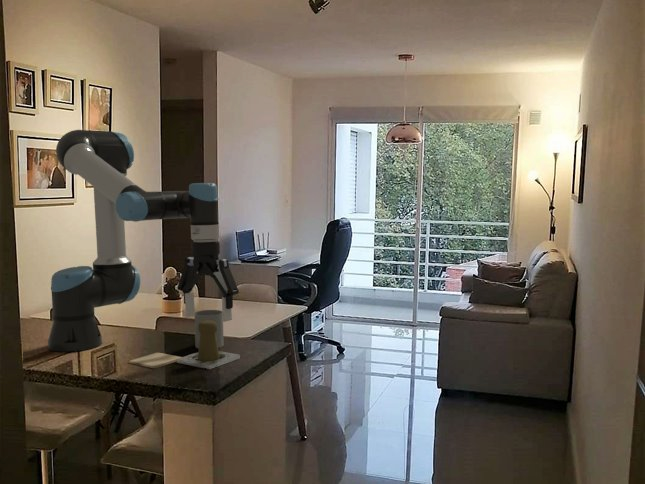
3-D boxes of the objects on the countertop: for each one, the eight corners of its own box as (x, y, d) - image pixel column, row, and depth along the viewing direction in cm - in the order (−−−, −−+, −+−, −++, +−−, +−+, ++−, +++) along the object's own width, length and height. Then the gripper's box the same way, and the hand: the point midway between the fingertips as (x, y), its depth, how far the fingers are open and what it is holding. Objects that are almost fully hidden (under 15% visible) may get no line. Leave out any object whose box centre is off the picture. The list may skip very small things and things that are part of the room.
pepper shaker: (209, 364, 168) (208, 324, 167) (192, 361, 171) (191, 322, 170) (224, 359, 173) (223, 320, 172) (208, 356, 176) (206, 317, 175)
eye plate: (177, 362, 170) (176, 359, 170) (207, 352, 180) (207, 348, 180) (209, 369, 164) (209, 365, 163) (239, 358, 174) (239, 354, 173)
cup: (217, 349, 183) (216, 316, 182) (190, 348, 184) (189, 315, 184) (227, 342, 191) (226, 310, 190) (202, 341, 193) (201, 309, 192)
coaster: (129, 362, 170) (129, 360, 170) (157, 354, 179) (157, 352, 178) (154, 368, 165) (154, 366, 165) (182, 359, 173) (182, 357, 173)
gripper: (162, 240, 172) (165, 316, 174) (231, 243, 159) (234, 325, 161) (182, 238, 179) (185, 311, 180) (250, 240, 165) (252, 320, 167)
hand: (208, 318), depth 170 cm, fingers open, 13 cm apart
